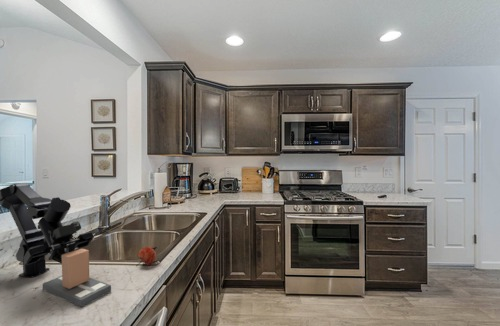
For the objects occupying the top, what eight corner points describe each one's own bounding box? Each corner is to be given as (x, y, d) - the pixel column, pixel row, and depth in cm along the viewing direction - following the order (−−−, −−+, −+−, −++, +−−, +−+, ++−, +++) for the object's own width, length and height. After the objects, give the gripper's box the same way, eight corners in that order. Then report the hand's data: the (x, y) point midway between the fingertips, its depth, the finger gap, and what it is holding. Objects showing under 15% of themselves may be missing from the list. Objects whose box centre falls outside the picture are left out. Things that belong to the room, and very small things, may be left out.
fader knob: (62, 285, 76) (61, 254, 75) (82, 277, 81) (81, 248, 81) (69, 288, 74) (68, 257, 74) (89, 279, 79) (88, 250, 79)
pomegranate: (140, 275, 91) (162, 256, 94) (127, 261, 91) (149, 242, 93) (143, 269, 99) (163, 251, 101) (131, 256, 98) (151, 238, 101)
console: (42, 289, 78) (42, 283, 78) (72, 277, 86) (72, 271, 86) (81, 307, 68) (80, 299, 68) (111, 291, 77) (110, 284, 77)
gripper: (26, 222, 72) (46, 265, 67) (90, 210, 89) (109, 243, 84) (15, 244, 76) (33, 286, 71) (79, 228, 92) (97, 261, 88)
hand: (72, 267), depth 78 cm, fingers closed, pressing on fader knob
